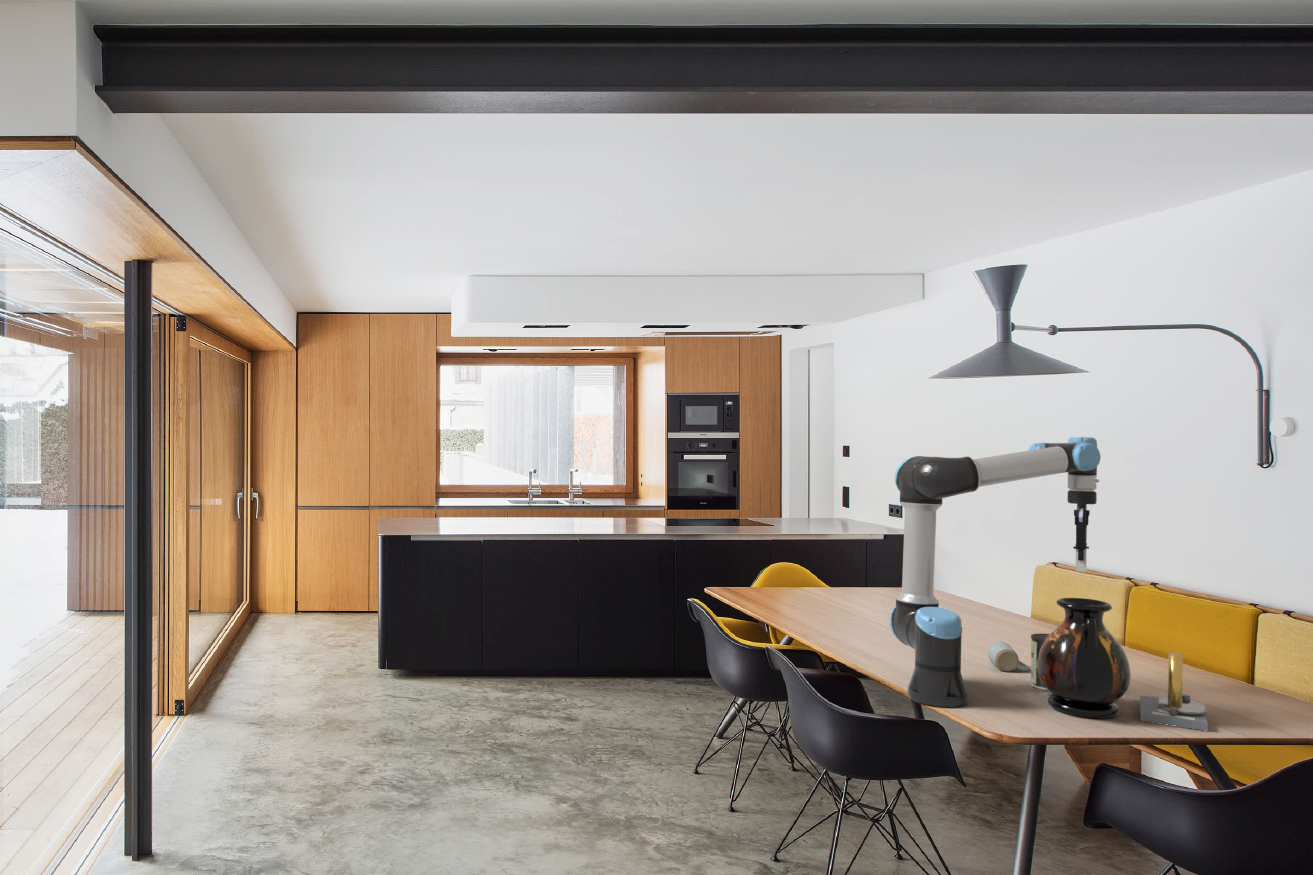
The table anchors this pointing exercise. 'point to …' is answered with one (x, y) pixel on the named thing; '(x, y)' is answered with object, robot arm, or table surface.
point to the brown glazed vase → (1084, 662)
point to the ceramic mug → (1005, 657)
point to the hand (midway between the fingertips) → (1080, 571)
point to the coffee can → (1036, 659)
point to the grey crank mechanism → (1169, 715)
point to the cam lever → (1178, 690)
